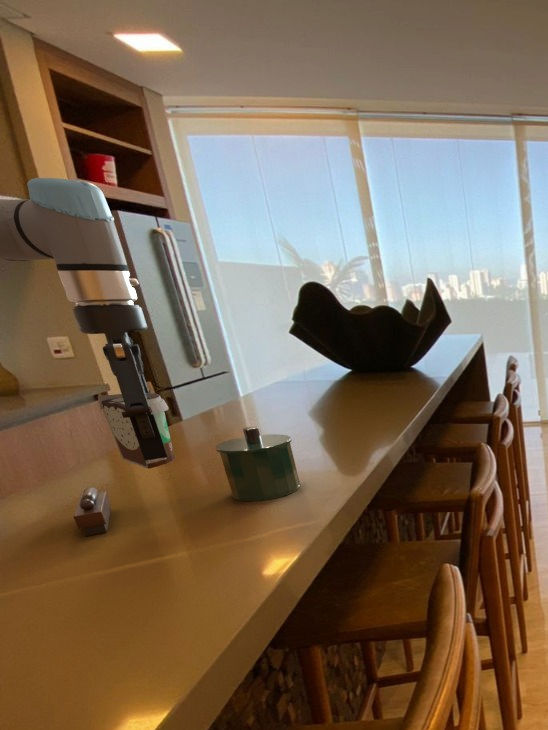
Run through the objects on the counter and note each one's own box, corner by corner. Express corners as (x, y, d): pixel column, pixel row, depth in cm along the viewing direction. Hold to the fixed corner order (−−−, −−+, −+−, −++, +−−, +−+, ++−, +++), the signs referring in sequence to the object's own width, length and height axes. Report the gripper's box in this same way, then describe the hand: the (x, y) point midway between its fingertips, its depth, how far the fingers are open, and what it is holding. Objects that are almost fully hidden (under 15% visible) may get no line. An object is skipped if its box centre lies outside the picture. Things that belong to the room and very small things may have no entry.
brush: (88, 514, 91) (77, 485, 89) (113, 509, 92) (102, 481, 91) (82, 538, 82) (69, 506, 80) (109, 532, 84) (97, 502, 82)
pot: (230, 490, 101) (216, 444, 98) (294, 478, 107) (283, 434, 104) (236, 505, 94) (221, 456, 90) (305, 492, 100) (293, 445, 96)
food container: (198, 460, 90) (179, 397, 86) (152, 470, 85) (129, 404, 81) (164, 449, 96) (144, 389, 92) (118, 458, 91) (96, 395, 87)
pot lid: (214, 447, 98) (208, 427, 97) (286, 437, 104) (281, 417, 103) (220, 461, 90) (213, 439, 89) (297, 449, 97) (292, 428, 95)
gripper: (138, 304, 74) (189, 462, 82) (140, 301, 92) (182, 432, 100) (60, 306, 70) (122, 472, 78) (78, 303, 87) (127, 439, 96)
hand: (156, 450), depth 89 cm, fingers closed on food container, 12 cm apart
